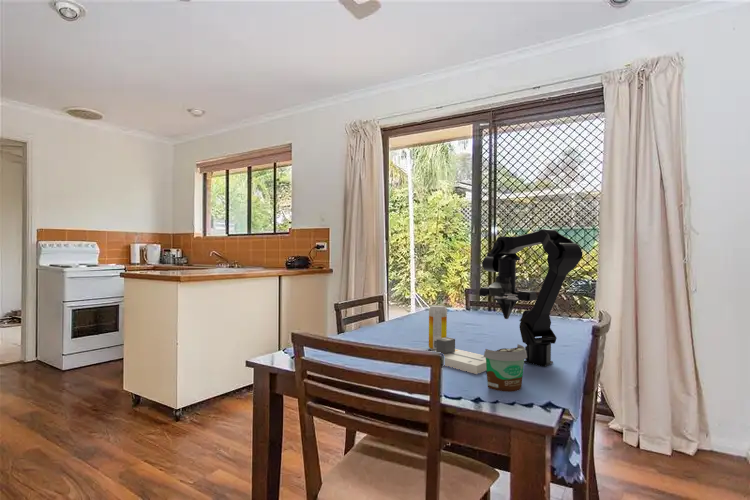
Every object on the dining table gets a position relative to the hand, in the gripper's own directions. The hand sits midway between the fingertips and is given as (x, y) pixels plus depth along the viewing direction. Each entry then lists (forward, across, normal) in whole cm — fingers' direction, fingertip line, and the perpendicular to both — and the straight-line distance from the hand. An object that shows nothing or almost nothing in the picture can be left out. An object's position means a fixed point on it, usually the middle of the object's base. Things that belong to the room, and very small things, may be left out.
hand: (506, 318), depth 138 cm
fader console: (+11, -2, -24) cm, 26 cm away
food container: (+11, +19, -33) cm, 40 cm away
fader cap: (+9, -8, -24) cm, 27 cm away
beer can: (+11, -17, -16) cm, 26 cm away
